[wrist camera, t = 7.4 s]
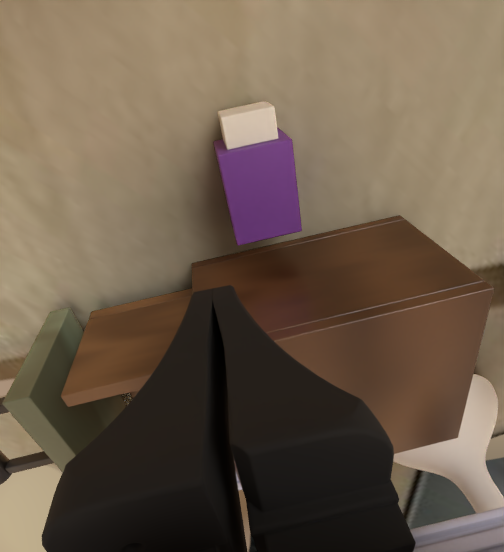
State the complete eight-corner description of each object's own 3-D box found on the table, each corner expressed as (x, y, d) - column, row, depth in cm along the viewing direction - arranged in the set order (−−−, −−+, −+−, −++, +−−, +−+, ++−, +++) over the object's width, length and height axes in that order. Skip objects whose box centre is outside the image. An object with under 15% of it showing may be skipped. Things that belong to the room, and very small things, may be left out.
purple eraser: (288, 209, 21) (302, 231, 18) (231, 222, 21) (237, 246, 18) (273, 97, 18) (288, 104, 15) (206, 111, 18) (209, 121, 15)
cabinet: (229, 384, 28) (243, 493, 21) (191, 262, 22) (193, 360, 15) (392, 344, 28) (458, 438, 21) (400, 214, 22) (495, 287, 15)
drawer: (30, 435, 26) (-12, 537, 21) (-57, 336, 21) (-145, 438, 15) (275, 375, 27) (298, 459, 22) (253, 264, 22) (275, 337, 16)
